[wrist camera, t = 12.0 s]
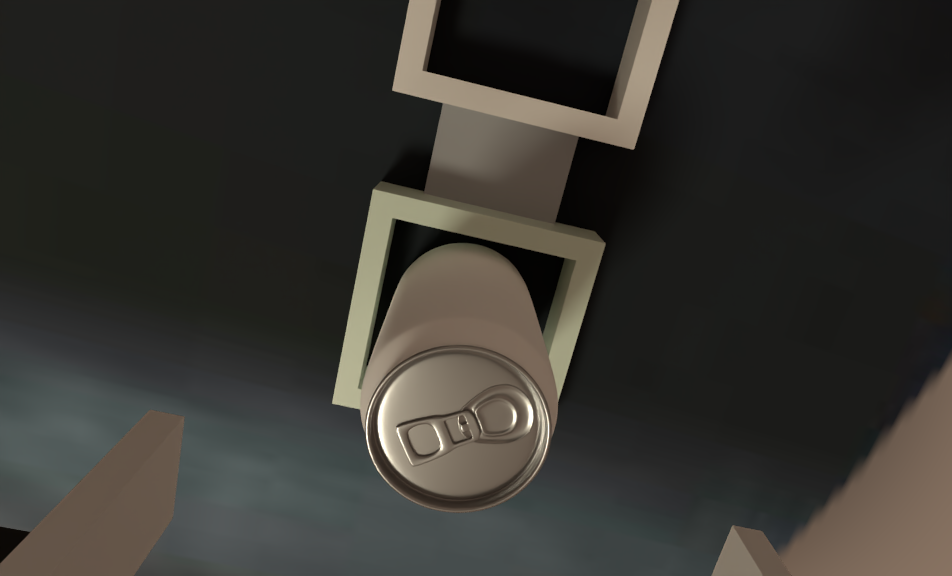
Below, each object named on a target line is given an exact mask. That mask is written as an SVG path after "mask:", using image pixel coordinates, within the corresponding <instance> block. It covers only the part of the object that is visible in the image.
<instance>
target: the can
mask: <svg viewBox="0 0 952 576" xmlns="http://www.w3.org/2000/svg"><path fill="white" fill-rule="evenodd" d="M360 411H361V419H362V424H363V428H364V431H365V438H366V444H367V448H368V452H369V454H370V457H371V460H372V462H373V464H374V466H375V467H376V469H377V471H378V472H379V474H380V475H381V476H382V478H383V479H384V480H385V481H386V482H387V483H388V484H389V485H390V486H391V487H392V488H393V489H394V490H395V491H396V492H398V493H399V494H400V495H402V496H403V497H405V498H407V499H408V500H410V501H412V502H414V503H416V504H418V505H421V506H423V507H426V508H430V509H433V510H438V511H443V512H454V513H464V512H474V511H479V510H484V509H487V508H491V507H494V506H496V505H499V504H501V503H503V502H505V501H507V500H509V499H510V498H512V497H514V496H515V495H517V494H518V493H519V492H520V491H522V490H523V489H524V488H525V487H526V486H527V485H528V484H529V483H530V482H531V481H532V480H533V479H534V478H535V476H536V475H537V473H538V472H539V470H540V469H541V467H542V465H543V463H544V461H545V459H546V457H547V454H548V451H549V447H550V443H551V437H552V434H553V432H554V428H555V425H556V420H557V413H558V396H557V388H556V383H555V378H554V374H553V371H552V367H551V363H550V360H549V356H548V353H547V349H546V346H545V343H544V339H543V336H542V332H541V329H540V326H539V322H538V319H537V316H536V313H535V309H534V306H533V303H532V300H531V297H530V294H529V291H528V288H527V286H526V284H525V282H524V280H523V278H522V277H521V275H520V273H519V272H518V270H517V269H516V268H515V266H514V265H513V264H512V263H511V262H510V261H509V260H508V259H507V258H505V257H504V256H503V255H501V254H500V253H498V252H496V251H494V250H492V249H490V248H487V247H485V246H481V245H477V244H471V243H453V244H447V245H443V246H440V247H437V248H434V249H432V250H430V251H428V252H426V253H425V254H423V255H422V256H420V257H419V258H418V259H417V260H415V261H414V262H413V263H412V264H411V265H410V267H409V268H408V269H407V270H406V272H405V273H404V275H403V276H402V278H401V280H400V282H399V284H398V286H397V289H396V291H395V294H394V296H393V299H392V301H391V304H390V307H389V309H388V312H387V315H386V317H385V320H384V323H383V325H382V328H381V331H380V333H379V336H378V339H377V342H376V344H375V347H374V350H373V353H372V355H371V358H370V361H369V364H368V367H367V370H366V373H365V377H364V380H363V384H362V390H361V399H360Z"/></svg>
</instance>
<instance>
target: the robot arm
mask: <svg viewBox="0 0 952 576" xmlns="http://www.w3.org/2000/svg"><path fill="white" fill-rule="evenodd" d="M183 426H184V416H179V415H174V414H169V413H164V412H158V411H153V410H149V411H148V412H147V413H146V415H145V416H144V417H143V418H142V419H141V420H140V421H139V422H138V423H137V424H136V425H135V426H134V427H133V428H132V429H131V430H130V431H129V432H128V433H127V434H126V435H125V436H124V437H123V438H122V439H121V440H120V441H119V442H118V443H117V444H116V445H115V446H114V447H113V448H112V449H111V450H110V451H109V452H108V453H107V455H106V456H105V457H104V458H103V459H102V460H101V461H100V462H99V463H98V464H97V465H96V466H95V467H94V468H93V469H92V470H91V471H90V472H89V473H88V474H87V475H86V476H85V477H84V478H83V479H82V480H81V481H80V482H79V483H78V484H77V485H76V486H75V487H74V488H73V489H72V490H71V491H70V492H69V493H68V495H67V496H66V497H65V498H64V499H63V500H62V501H61V502H60V503H59V504H58V505H57V506H56V507H55V508H54V509H53V510H52V511H51V512H50V513H49V514H48V515H47V516H46V517H45V518H44V519H43V520H42V521H41V522H40V523H39V524H38V525H37V526H36V527H35V528H34V529H33V530H32V531H31V532H27V531H21V530H16V529H10V528H5V527H0V576H134V574H135V573H136V571H137V570H138V568H139V567H140V565H141V564H142V562H143V561H144V560H145V558H146V557H147V555H148V554H149V552H150V551H151V549H152V548H153V546H154V545H155V543H156V542H157V540H158V539H159V537H160V536H161V534H162V533H163V532H164V530H165V529H166V527H167V526H168V524H169V523H170V521H171V520H172V518H173V511H174V502H175V494H176V485H177V477H178V468H179V460H180V451H181V443H182V434H183ZM712 576H792V575H791V574H790V572H789V571H788V569H787V568H786V566H785V565H784V563H783V562H782V560H781V559H780V557H779V556H778V554H777V553H776V551H775V550H774V548H773V547H772V545H771V544H770V542H769V541H768V539H767V538H766V536H765V535H764V533H763V532H762V531H759V530H753V529H748V528H743V527H738V526H733V525H732V528H731V530H730V533H729V535H728V537H727V540H726V542H725V545H724V547H723V549H722V552H721V554H720V557H719V559H718V561H717V564H716V566H715V569H714V571H713V573H712Z"/></svg>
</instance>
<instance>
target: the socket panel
mask: <svg viewBox="0 0 952 576" xmlns="http://www.w3.org/2000/svg"><path fill="white" fill-rule="evenodd" d="M678 2H679V0H638V3H637V7H636V10H635V14H634V17H633V21H632V24H631V28H630V31H629V35H628V38H627V42H626V45H625V49H624V52H623V56H622V60H621V63H620V67H619V70H618V74H617V77H616V81H615V84H614V88H613V91H612V95H611V98H610V102H609V105H608V109H607V112H606V116H602V115H598V114H594V113H590V112H586V111H582V110H578V109H574V108H570V107H566V106H562V105H558V104H554V103H550V102H546V101H542V100H538V99H534V98H530V97H526V96H522V95H518V94H514V93H510V92H506V91H502V90H498V89H494V88H490V87H486V86H482V85H478V84H474V83H470V82H466V81H462V80H458V79H454V78H450V77H446V76H442V75H438V74H434V73H430V72H427V67H428V62H429V57H430V52H431V47H432V42H433V37H434V33H435V28H436V23H437V18H438V13H439V8H440V3H441V0H409V6H408V11H407V16H406V21H405V26H404V32H403V37H402V42H401V47H400V52H399V58H398V63H397V68H396V73H395V78H394V84H393V89H392V91H396V92H401V93H405V94H409V95H413V96H417V97H421V98H425V99H429V100H433V101H437V102H441V103H443V107H442V111H441V116H440V121H439V125H438V130H437V135H436V139H435V144H434V149H433V153H432V158H431V162H430V167H429V172H428V176H427V181H426V186H425V190H424V191H421V190H416V189H412V188H408V187H404V186H399V185H395V184H391V183H387V182H382V181H381V182H380V183H379V184H378V185H377V186H376V187H375V188H374V189H373V193H372V198H371V203H370V209H369V214H368V219H367V224H366V230H365V235H364V240H363V245H362V250H361V256H360V261H359V266H358V271H357V276H356V282H355V287H354V292H353V297H352V302H351V308H350V313H349V318H348V323H347V328H346V334H345V339H344V344H343V349H342V355H341V360H340V365H339V370H338V375H337V381H336V386H335V391H334V396H333V401H332V404H337V405H342V406H347V407H352V408H357V409H360V399H361V390H362V384H363V380H364V377H365V373H366V370H367V367H368V366H366V364H367V360H368V355H369V350H370V345H371V340H372V335H373V330H374V325H375V321H376V316H377V311H378V306H379V301H380V296H381V291H382V286H383V282H384V277H385V272H386V267H387V262H388V257H389V252H390V247H391V242H392V238H393V233H394V228H395V223H396V219H399V220H403V221H407V222H412V223H416V224H420V225H425V226H429V227H433V228H438V229H442V230H446V231H451V232H455V233H459V234H464V235H468V236H472V237H477V238H481V239H485V240H490V241H494V242H498V243H503V244H507V245H511V246H516V247H520V248H524V249H529V250H533V251H537V252H542V253H546V254H550V255H555V256H559V257H563V258H565V259H564V263H563V266H562V270H561V273H560V277H559V281H558V284H557V288H556V291H555V295H554V298H553V302H552V305H551V309H550V312H549V316H548V319H547V323H546V326H545V330H544V333H543V339H544V343H545V346H546V349H547V353H548V356H549V360H550V363H551V367H552V371H553V374H554V378H555V383H556V388H557V396H558V400H559V397H560V393H561V390H562V387H563V383H564V380H565V377H566V373H567V370H568V367H569V364H570V360H571V357H572V354H573V350H574V347H575V344H576V340H577V337H578V334H579V330H580V327H581V324H582V320H583V317H584V314H585V310H586V307H587V304H588V301H589V297H590V294H591V291H592V287H593V284H594V281H595V277H596V274H597V271H598V267H599V264H600V261H601V257H602V254H603V251H604V247H605V244H606V243H605V242H604V241H603V240H602V239H601V238H600V237H599V236H598V234H597V233H596V232H595V231H591V230H587V229H582V228H578V227H574V226H570V225H565V224H561V223H557V222H555V221H556V217H557V213H558V210H559V206H560V203H561V199H562V195H563V192H564V188H565V185H566V181H567V177H568V174H569V170H570V166H571V163H572V159H573V156H574V152H575V148H576V145H577V141H578V137H583V138H588V139H592V140H596V141H600V142H604V143H608V144H612V145H616V146H620V147H624V148H628V149H632V150H634V148H635V145H636V141H637V138H638V135H639V131H640V128H641V125H642V121H643V118H644V115H645V112H646V108H647V105H648V102H649V98H650V95H651V92H652V88H653V85H654V82H655V78H656V75H657V72H658V68H659V65H660V62H661V59H662V55H663V52H664V49H665V45H666V42H667V39H668V35H669V32H670V29H671V25H672V22H673V19H674V15H675V12H676V9H677V5H678Z"/></svg>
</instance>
